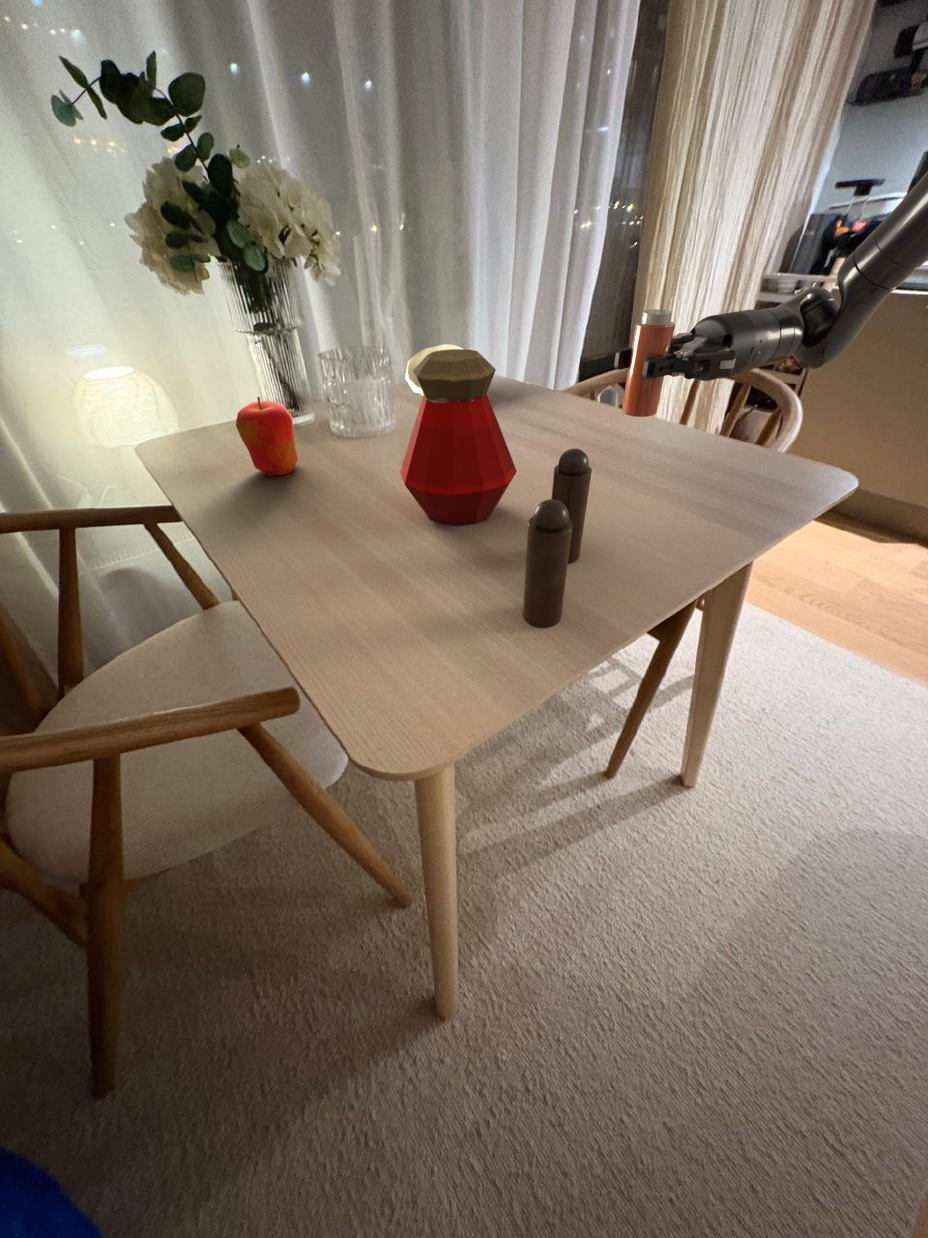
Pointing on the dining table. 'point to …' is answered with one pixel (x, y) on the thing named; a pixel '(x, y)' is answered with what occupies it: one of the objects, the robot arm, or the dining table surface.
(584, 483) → the post
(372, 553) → the dining table surface
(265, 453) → the apple
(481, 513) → the bottle
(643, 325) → the shaker
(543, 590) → the post
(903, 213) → the robot arm
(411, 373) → the bowl
